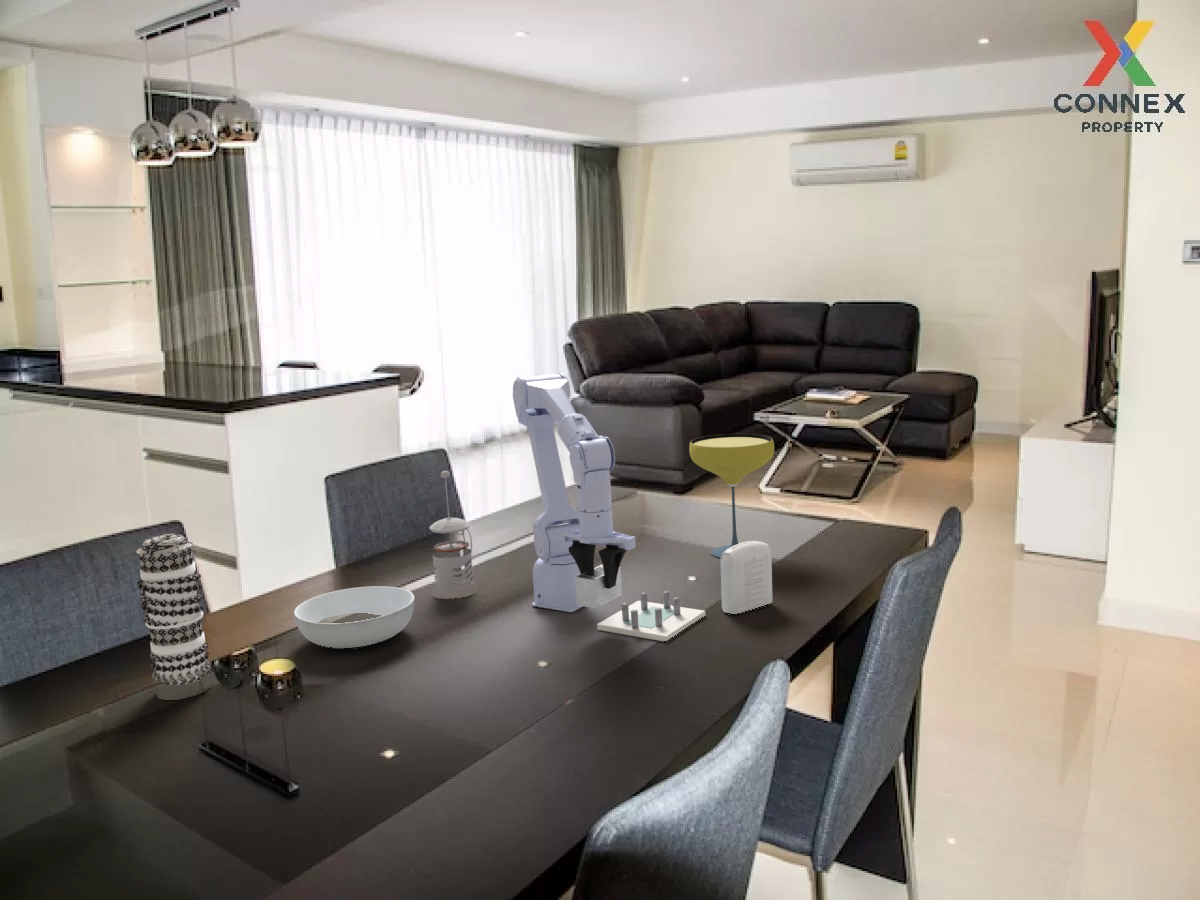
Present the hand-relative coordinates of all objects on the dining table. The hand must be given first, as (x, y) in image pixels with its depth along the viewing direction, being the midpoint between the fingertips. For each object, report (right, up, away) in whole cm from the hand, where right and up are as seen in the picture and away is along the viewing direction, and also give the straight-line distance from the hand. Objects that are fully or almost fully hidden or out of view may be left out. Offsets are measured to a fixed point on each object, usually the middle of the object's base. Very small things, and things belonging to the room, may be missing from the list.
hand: (599, 585), depth 170 cm
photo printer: (+27, -6, +9) cm, 29 cm away
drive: (0, -3, 0) cm, 3 cm away
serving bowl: (-43, -11, +5) cm, 44 cm away
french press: (-29, -5, +30) cm, 42 cm away
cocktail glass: (+30, +1, +45) cm, 54 cm away
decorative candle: (-66, -15, -14) cm, 69 cm away
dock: (+9, -7, +4) cm, 13 cm away
